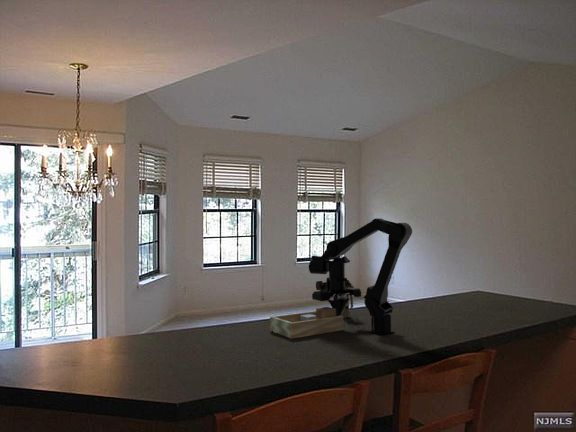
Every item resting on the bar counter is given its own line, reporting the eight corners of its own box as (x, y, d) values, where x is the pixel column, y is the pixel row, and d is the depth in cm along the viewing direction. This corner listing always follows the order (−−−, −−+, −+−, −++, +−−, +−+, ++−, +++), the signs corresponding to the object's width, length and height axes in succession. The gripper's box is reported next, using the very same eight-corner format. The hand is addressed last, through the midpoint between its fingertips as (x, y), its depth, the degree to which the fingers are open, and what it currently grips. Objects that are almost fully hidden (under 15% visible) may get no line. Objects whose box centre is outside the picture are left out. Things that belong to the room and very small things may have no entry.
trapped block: (317, 328, 186) (317, 315, 186) (308, 329, 183) (308, 317, 183) (309, 326, 189) (309, 314, 189) (300, 328, 186) (300, 315, 186)
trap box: (343, 329, 181) (343, 315, 181) (291, 338, 169) (291, 323, 169) (319, 323, 193) (319, 310, 193) (270, 330, 181) (270, 316, 181)
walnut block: (335, 322, 182) (335, 308, 182) (324, 324, 179) (324, 310, 179) (327, 320, 186) (327, 306, 186) (316, 322, 183) (316, 308, 183)
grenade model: (346, 319, 200) (345, 281, 200) (336, 316, 206) (335, 279, 206) (359, 317, 203) (358, 280, 203) (348, 315, 209) (348, 278, 209)
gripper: (343, 271, 197) (343, 311, 197) (303, 274, 187) (303, 317, 187) (362, 273, 188) (362, 316, 188) (321, 277, 178) (321, 322, 178)
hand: (337, 317), depth 185 cm, fingers closed
